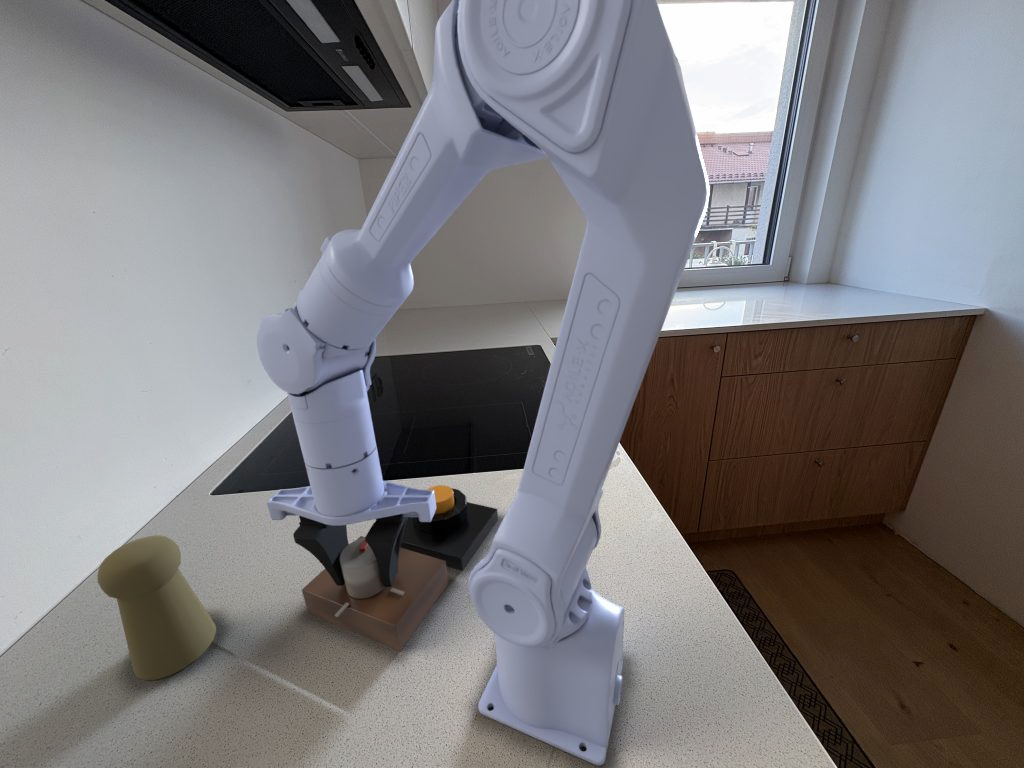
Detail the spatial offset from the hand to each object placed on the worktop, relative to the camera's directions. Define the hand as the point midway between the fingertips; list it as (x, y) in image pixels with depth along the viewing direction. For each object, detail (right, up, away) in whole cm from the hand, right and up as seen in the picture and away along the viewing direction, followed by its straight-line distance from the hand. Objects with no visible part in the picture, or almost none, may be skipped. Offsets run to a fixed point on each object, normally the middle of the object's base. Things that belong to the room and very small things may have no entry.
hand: (368, 578), depth 40 cm
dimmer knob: (0, 0, 0) cm, 0 cm away
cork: (-17, -5, -2) cm, 18 cm away
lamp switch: (+5, +1, +11) cm, 12 cm away
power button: (+5, +4, +11) cm, 12 cm away
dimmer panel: (+1, -3, +2) cm, 4 cm away
